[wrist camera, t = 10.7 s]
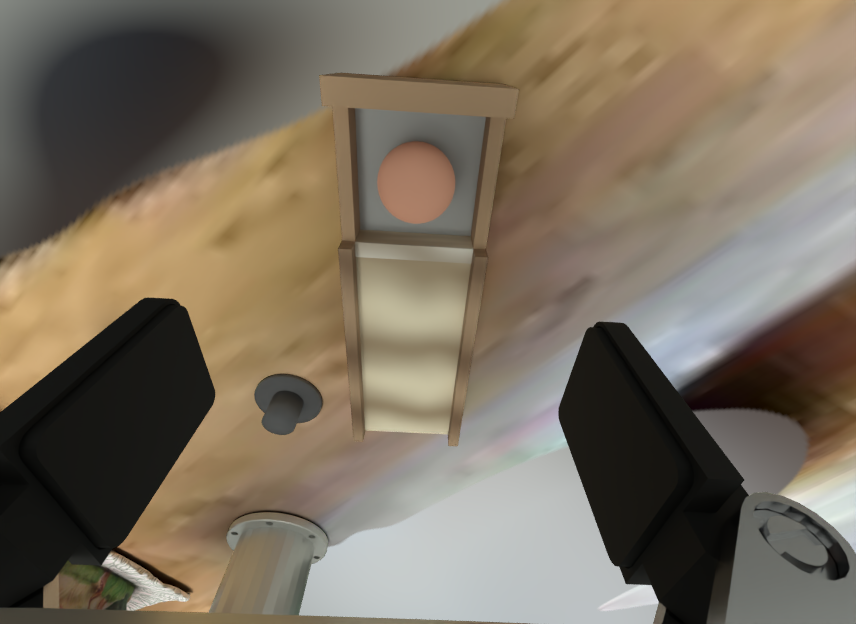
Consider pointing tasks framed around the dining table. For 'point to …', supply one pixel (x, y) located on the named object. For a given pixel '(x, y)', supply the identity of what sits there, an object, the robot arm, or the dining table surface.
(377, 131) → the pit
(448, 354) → the lane
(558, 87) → the dining table surface
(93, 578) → the cookie jar
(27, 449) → the robot arm
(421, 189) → the ball
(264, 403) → the tee
